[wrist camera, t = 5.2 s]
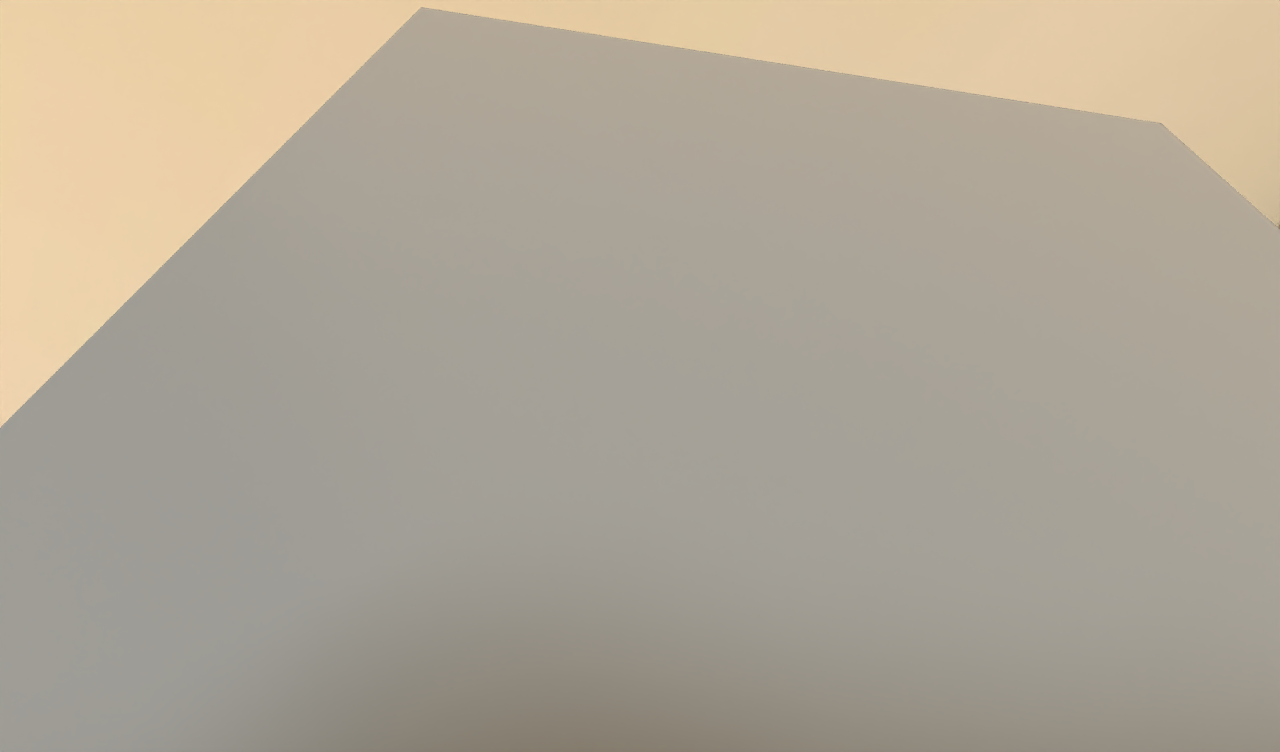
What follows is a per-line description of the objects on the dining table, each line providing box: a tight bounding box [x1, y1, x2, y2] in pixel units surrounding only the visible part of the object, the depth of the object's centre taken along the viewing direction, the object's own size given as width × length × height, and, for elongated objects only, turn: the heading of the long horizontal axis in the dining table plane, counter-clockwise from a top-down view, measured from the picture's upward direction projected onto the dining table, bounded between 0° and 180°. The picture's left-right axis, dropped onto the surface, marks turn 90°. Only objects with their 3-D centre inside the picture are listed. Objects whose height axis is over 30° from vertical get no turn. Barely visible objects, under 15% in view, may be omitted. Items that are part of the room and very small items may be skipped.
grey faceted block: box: [0, 7, 1280, 752], centre depth 8 cm, size 8×8×9 cm
